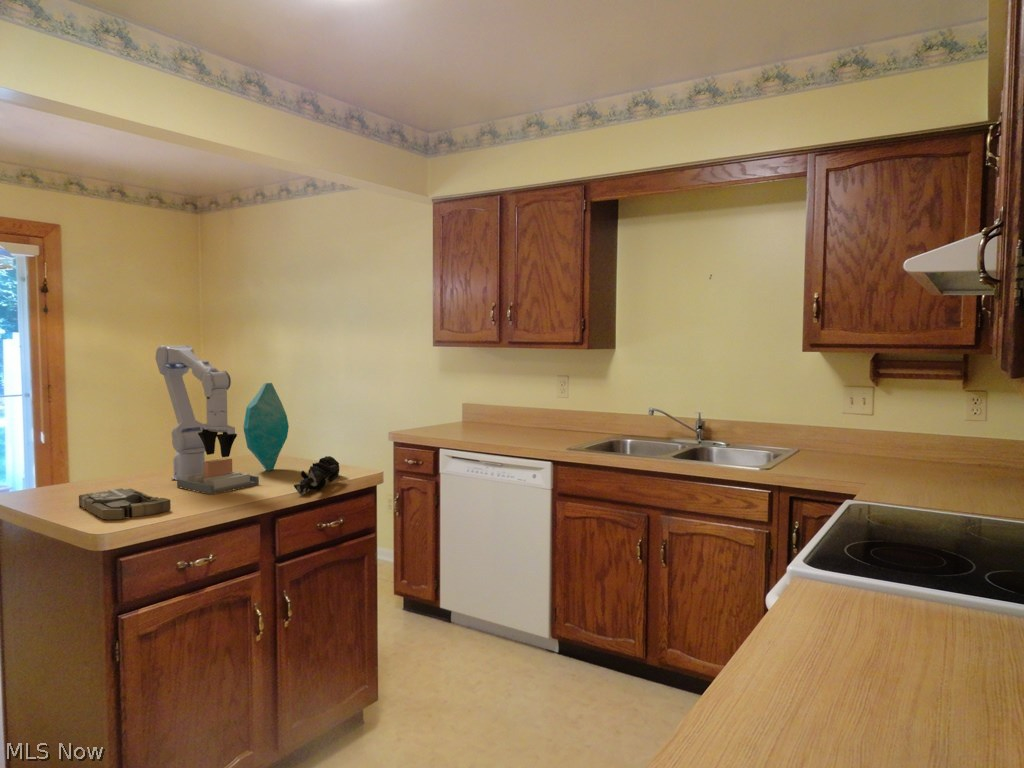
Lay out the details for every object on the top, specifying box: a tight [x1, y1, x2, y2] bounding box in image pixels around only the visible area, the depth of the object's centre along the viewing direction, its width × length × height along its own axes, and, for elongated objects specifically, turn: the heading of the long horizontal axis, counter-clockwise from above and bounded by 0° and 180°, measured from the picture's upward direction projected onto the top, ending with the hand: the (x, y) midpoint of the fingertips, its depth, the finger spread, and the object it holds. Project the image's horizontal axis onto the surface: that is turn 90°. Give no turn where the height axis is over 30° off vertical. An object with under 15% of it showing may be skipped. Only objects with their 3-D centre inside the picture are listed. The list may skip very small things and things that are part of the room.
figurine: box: [293, 455, 340, 495], centre depth 202 cm, size 8×30×8 cm, turn 177°
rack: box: [176, 471, 260, 495], centre depth 199 cm, size 17×16×4 cm
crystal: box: [242, 382, 289, 472], centre depth 222 cm, size 12×14×30 cm
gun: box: [78, 488, 171, 520], centre depth 171 cm, size 4×24×15 cm
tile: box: [203, 457, 233, 479], centre depth 198 cm, size 2×8×7 cm, turn 148°
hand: (217, 455), depth 198 cm, fingers open, 7 cm apart
